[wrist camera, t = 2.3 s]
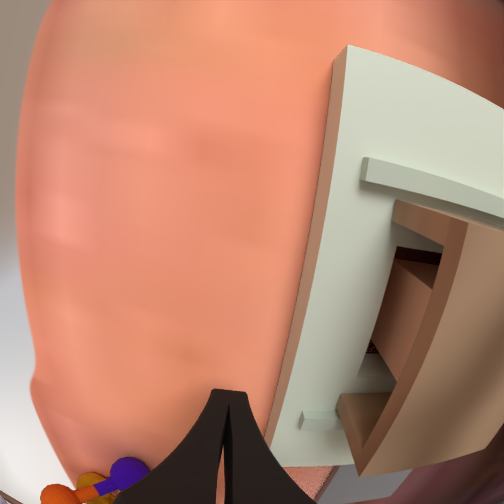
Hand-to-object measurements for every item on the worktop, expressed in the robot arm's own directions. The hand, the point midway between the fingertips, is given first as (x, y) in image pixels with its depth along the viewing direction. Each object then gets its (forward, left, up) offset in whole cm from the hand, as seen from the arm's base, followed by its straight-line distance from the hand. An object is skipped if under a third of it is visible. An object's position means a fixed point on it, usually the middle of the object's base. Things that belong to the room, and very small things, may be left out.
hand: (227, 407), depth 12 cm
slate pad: (-11, +11, -3) cm, 16 cm away
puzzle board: (-10, -4, -3) cm, 12 cm away
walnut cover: (-8, -4, -1) cm, 10 cm away
